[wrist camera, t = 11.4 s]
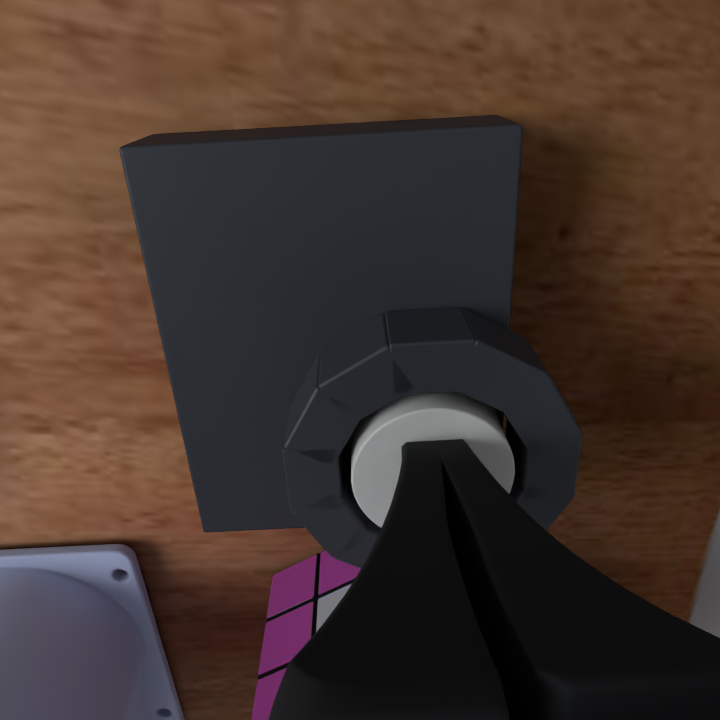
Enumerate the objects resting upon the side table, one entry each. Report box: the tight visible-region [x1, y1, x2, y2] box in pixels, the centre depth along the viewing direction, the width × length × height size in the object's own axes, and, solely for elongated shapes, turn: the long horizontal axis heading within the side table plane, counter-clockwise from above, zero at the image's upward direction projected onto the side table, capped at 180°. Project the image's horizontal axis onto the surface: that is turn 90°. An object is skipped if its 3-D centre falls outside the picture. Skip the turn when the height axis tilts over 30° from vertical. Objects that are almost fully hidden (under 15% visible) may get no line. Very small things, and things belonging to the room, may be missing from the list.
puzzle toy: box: [251, 550, 361, 720], centre depth 18 cm, size 6×6×6 cm
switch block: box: [120, 115, 583, 568], centre depth 14 cm, size 10×9×4 cm
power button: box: [351, 392, 515, 528], centre depth 14 cm, size 4×4×2 cm
